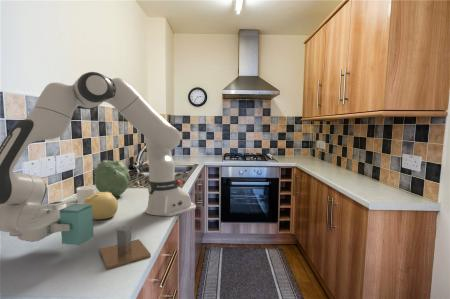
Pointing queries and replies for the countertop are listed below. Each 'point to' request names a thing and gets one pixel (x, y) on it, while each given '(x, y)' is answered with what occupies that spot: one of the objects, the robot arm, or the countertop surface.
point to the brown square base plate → (123, 250)
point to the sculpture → (102, 205)
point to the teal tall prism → (77, 224)
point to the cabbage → (111, 177)
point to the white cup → (85, 193)
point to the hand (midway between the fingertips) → (79, 222)
